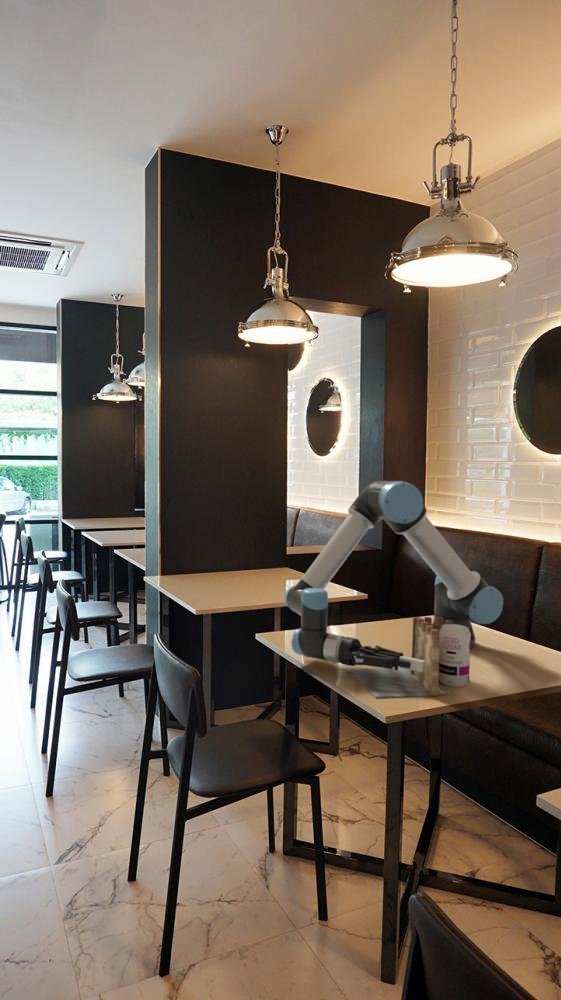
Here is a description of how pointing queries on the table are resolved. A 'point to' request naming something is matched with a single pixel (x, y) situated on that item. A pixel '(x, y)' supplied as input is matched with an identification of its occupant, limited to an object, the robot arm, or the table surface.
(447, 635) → the supplement can
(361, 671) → the fence base
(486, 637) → the table surface
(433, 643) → the fence panel
